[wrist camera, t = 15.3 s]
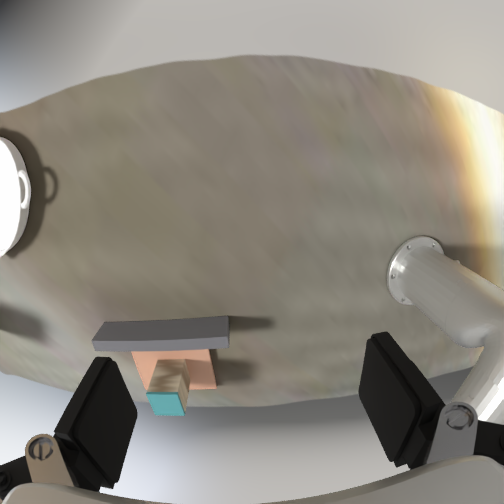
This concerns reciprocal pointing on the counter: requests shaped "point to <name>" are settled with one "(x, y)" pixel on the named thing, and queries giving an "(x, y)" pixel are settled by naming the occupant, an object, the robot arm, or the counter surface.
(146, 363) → the terracotta tile
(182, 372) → the block
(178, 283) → the counter surface
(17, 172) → the pan
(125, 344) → the board
